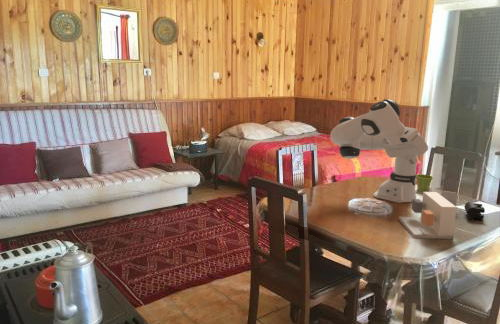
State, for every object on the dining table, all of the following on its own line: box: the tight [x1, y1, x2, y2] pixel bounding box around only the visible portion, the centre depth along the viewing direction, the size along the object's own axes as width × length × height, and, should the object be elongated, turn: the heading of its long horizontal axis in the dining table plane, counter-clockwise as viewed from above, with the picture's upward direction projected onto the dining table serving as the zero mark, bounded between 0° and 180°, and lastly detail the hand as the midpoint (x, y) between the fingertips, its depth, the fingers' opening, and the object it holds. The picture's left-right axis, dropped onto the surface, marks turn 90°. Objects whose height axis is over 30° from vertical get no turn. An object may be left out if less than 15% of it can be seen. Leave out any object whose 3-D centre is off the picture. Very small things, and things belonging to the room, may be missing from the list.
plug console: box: [398, 191, 458, 240], centre depth 183 cm, size 16×22×14 cm
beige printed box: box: [441, 190, 458, 207], centre depth 208 cm, size 4×7×10 cm, turn 56°
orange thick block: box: [422, 210, 436, 226], centre depth 175 cm, size 4×5×5 cm
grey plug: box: [411, 198, 425, 214], centre depth 190 cm, size 4×5×5 cm
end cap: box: [464, 200, 486, 222], centre depth 199 cm, size 10×7×7 cm
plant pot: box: [416, 174, 434, 193], centre depth 244 cm, size 9×9×9 cm
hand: (414, 162), depth 174 cm, fingers closed
